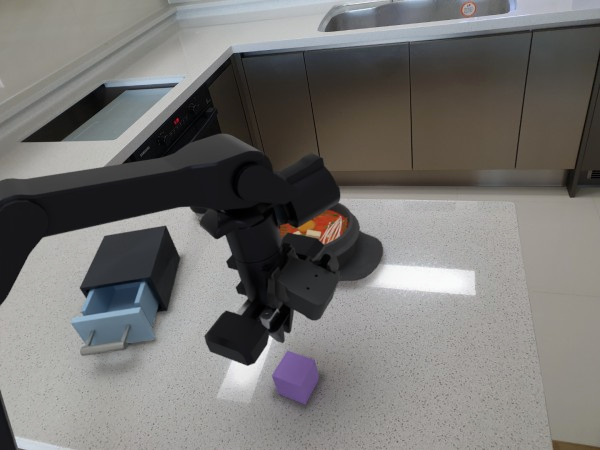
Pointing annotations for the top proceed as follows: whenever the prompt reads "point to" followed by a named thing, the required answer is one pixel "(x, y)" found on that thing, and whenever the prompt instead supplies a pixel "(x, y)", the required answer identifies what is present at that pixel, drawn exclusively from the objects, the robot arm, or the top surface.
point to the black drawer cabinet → (135, 262)
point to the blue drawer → (116, 317)
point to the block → (296, 377)
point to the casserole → (342, 241)
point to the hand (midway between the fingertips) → (283, 336)
